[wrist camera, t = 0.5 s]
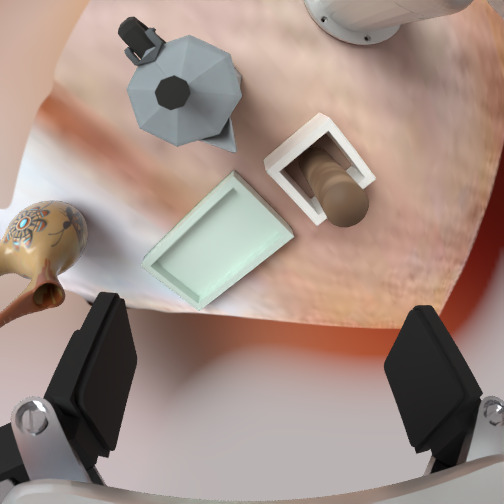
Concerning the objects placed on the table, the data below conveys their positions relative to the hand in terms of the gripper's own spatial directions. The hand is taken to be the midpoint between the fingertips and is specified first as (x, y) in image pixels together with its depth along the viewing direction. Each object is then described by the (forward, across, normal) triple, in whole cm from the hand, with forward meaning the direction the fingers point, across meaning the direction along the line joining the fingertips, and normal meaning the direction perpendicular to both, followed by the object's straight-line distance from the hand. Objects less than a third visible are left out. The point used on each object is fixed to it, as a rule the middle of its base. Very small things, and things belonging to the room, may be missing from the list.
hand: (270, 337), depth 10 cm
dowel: (+31, -8, +2) cm, 32 cm away
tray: (+31, +4, +14) cm, 35 cm away
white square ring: (+31, -8, +2) cm, 32 cm away
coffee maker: (+32, +6, -7) cm, 33 cm away
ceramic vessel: (+32, +26, +11) cm, 43 cm away
